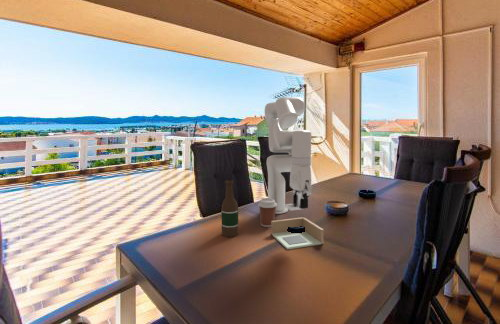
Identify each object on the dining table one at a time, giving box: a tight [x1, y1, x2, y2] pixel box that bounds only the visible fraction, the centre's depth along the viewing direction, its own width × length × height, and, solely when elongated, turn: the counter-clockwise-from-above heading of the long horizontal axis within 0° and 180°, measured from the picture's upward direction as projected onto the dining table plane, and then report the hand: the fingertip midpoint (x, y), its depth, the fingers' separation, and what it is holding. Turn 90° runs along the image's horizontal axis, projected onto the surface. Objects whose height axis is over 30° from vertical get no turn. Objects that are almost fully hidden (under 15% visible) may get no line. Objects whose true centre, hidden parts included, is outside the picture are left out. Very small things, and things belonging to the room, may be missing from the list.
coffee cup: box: [257, 198, 277, 228], centre depth 129 cm, size 9×9×12 cm
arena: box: [270, 216, 325, 250], centre depth 112 cm, size 16×16×6 cm
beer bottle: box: [220, 179, 239, 238], centre depth 117 cm, size 8×8×24 cm
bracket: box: [285, 192, 306, 212], centre depth 107 cm, size 6×5×6 cm
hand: (300, 205), depth 108 cm, fingers closed on bracket, 5 cm apart
